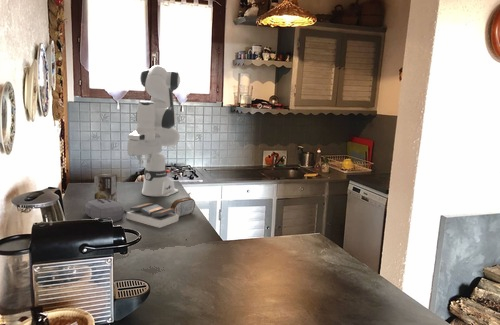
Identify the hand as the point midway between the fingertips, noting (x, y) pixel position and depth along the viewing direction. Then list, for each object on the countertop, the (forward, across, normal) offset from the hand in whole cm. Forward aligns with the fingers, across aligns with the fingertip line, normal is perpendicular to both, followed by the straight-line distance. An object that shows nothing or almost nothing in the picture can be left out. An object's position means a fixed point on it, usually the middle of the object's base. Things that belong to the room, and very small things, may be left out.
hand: (145, 163), depth 198 cm
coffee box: (+24, +6, -20) cm, 32 cm away
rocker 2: (+20, +7, +12) cm, 24 cm away
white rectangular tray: (+24, +7, +8) cm, 26 cm away
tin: (+24, -8, +18) cm, 31 cm away
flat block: (+20, +7, +19) cm, 28 cm away
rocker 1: (+20, +7, +6) cm, 21 cm away
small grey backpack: (+24, +18, -7) cm, 31 cm away
